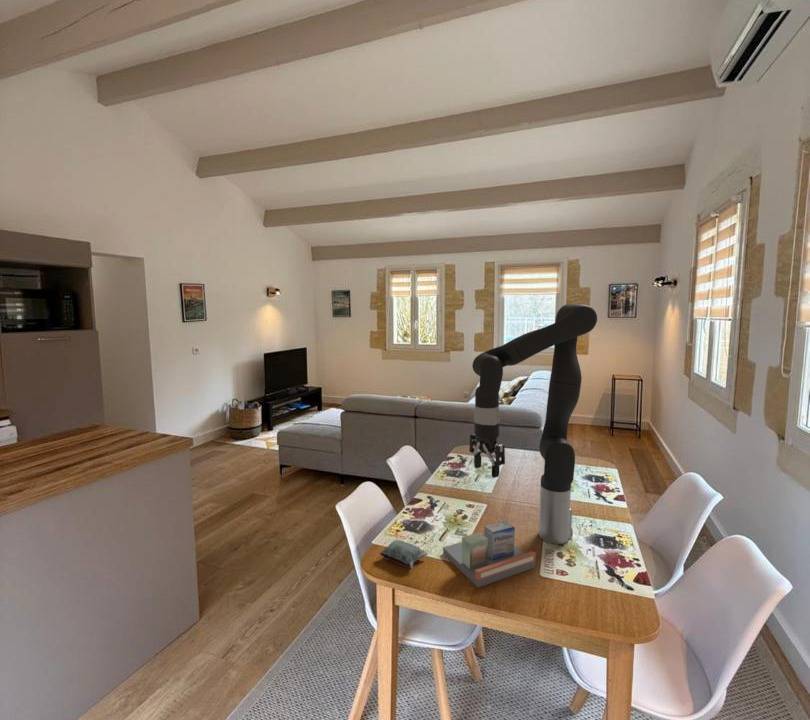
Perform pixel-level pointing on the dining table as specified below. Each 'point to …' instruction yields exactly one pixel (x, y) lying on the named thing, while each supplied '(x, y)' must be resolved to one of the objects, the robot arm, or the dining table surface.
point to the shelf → (492, 565)
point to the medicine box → (500, 539)
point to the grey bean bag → (403, 553)
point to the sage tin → (474, 551)
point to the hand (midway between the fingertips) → (486, 472)
